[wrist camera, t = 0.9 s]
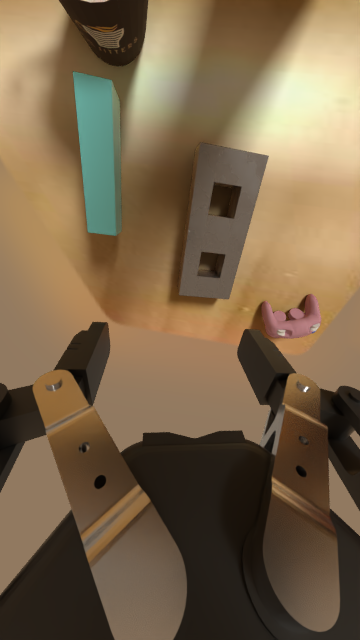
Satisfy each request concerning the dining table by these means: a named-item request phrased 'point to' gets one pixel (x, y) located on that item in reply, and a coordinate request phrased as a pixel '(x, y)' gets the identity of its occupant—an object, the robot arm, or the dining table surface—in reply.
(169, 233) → the dining table surface
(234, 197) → the slotted rail
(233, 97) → the dining table surface
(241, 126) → the dining table surface
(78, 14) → the coffee mug
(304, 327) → the video game controller
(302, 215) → the dining table surface
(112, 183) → the two prong clip
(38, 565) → the robot arm
